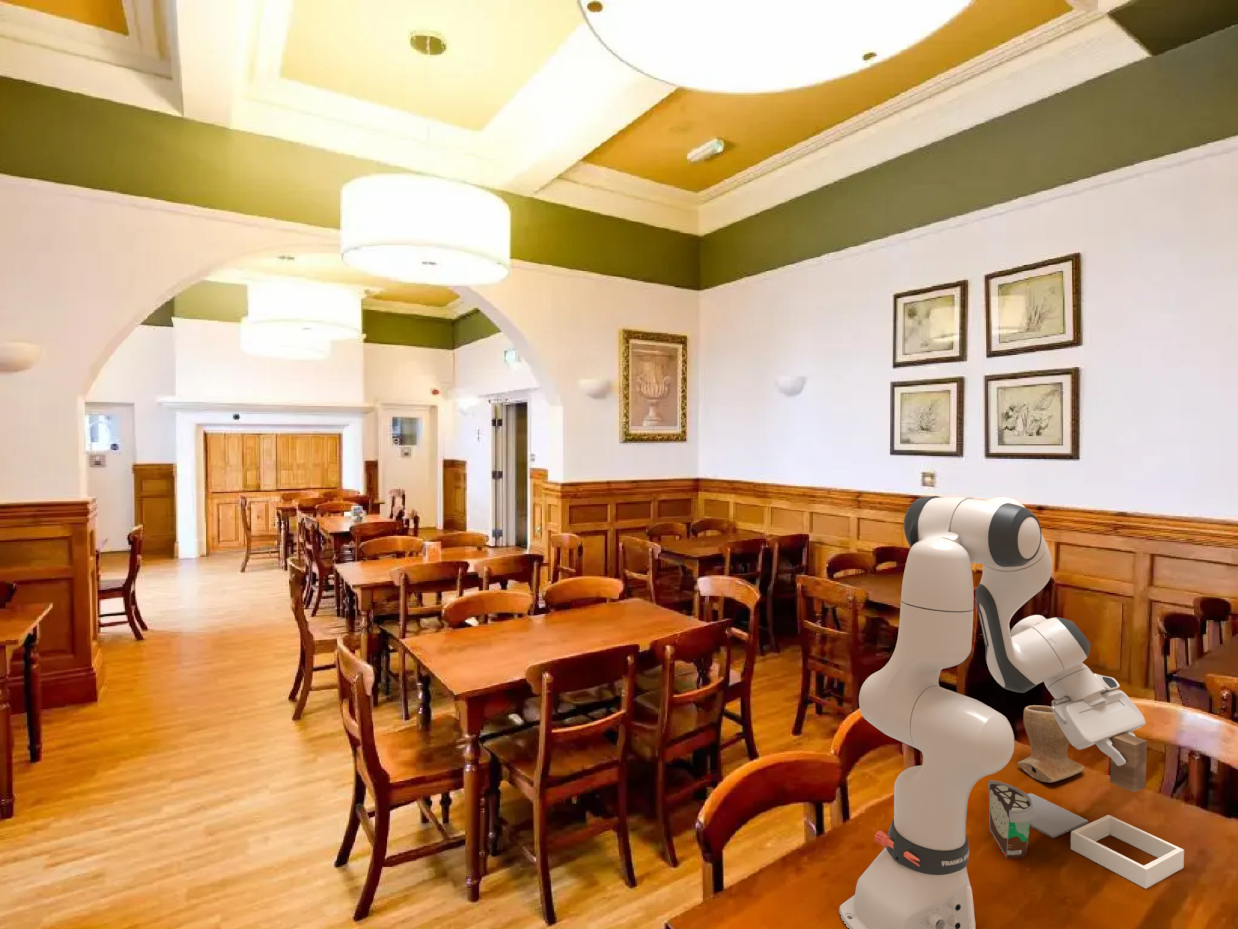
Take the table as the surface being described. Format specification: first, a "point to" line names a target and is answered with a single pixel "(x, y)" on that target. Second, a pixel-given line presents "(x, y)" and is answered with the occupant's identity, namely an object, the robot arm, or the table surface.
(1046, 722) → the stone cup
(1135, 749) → the walnut block
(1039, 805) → the rubber mat
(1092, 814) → the table surface
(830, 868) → the table surface
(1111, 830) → the tray
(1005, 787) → the food container
